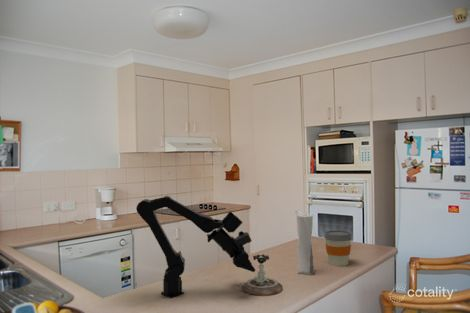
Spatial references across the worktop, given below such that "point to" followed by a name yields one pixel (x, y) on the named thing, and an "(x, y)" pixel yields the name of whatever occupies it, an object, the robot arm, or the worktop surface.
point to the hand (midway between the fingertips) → (252, 267)
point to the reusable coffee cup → (338, 247)
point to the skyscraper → (305, 244)
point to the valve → (261, 271)
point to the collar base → (262, 288)
